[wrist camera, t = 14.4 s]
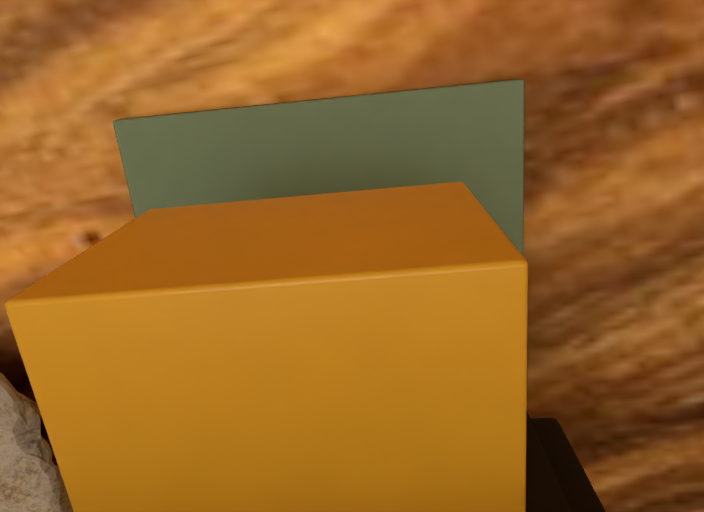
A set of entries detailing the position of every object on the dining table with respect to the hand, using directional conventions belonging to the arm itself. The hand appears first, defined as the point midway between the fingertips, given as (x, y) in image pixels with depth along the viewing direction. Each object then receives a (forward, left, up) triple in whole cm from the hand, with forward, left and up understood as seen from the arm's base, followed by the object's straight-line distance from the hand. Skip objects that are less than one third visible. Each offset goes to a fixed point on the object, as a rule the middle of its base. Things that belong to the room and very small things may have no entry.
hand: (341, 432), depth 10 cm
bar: (0, 0, +1) cm, 1 cm away
